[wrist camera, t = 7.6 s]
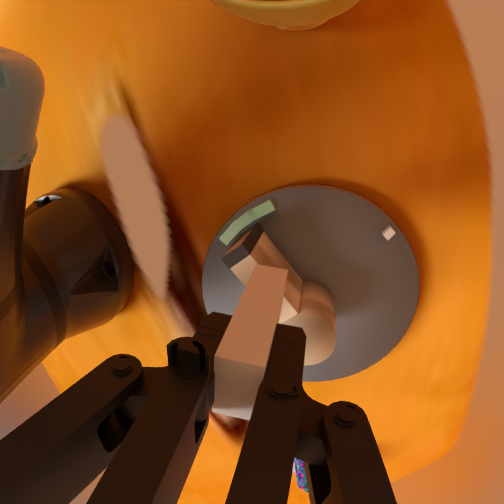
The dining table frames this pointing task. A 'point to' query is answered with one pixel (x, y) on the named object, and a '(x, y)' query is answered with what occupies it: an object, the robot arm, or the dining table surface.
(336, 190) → the flat grey disc
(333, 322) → the tuning peg
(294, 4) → the plant pot
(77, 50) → the dining table surface
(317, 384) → the dining table surface
